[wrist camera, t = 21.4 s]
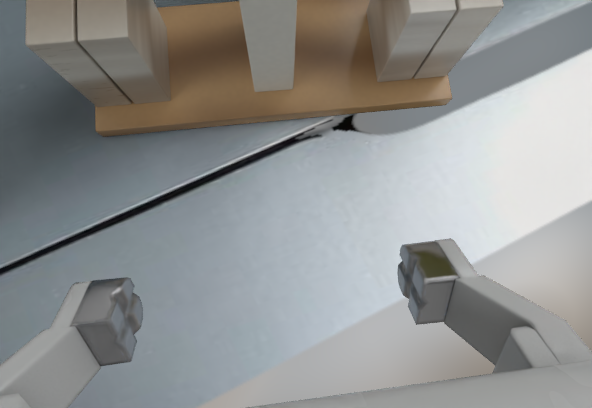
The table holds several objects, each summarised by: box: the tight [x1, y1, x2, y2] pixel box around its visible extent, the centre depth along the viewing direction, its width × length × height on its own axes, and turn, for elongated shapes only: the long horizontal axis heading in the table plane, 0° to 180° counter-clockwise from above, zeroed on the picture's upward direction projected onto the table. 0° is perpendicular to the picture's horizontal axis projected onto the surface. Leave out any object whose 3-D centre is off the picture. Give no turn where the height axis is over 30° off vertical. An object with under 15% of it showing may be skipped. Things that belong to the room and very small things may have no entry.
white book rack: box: [26, 0, 504, 137], centre depth 21 cm, size 8×22×8 cm, turn 96°
